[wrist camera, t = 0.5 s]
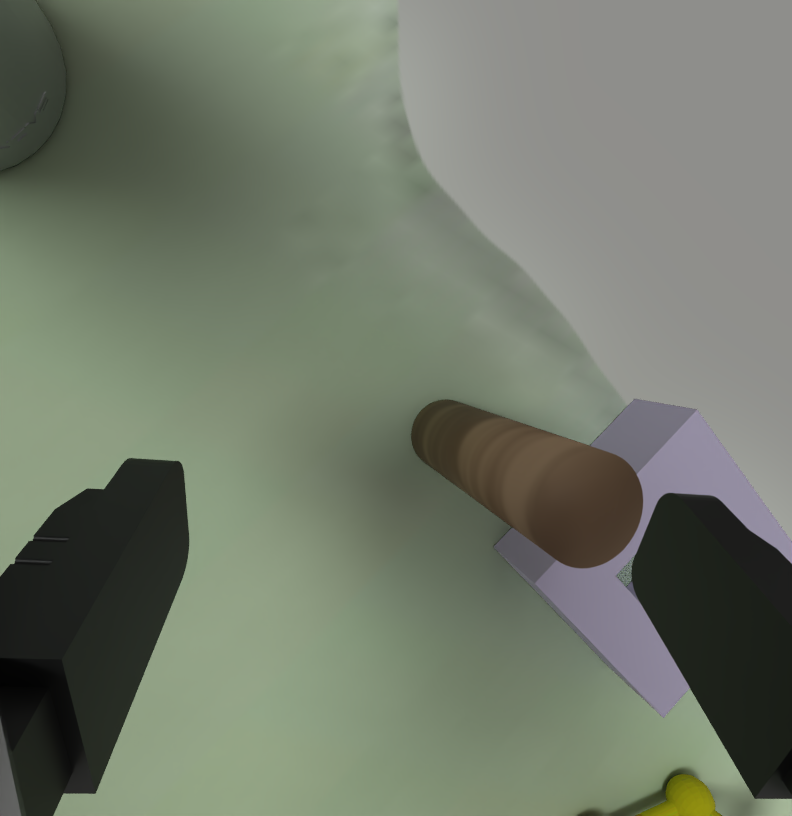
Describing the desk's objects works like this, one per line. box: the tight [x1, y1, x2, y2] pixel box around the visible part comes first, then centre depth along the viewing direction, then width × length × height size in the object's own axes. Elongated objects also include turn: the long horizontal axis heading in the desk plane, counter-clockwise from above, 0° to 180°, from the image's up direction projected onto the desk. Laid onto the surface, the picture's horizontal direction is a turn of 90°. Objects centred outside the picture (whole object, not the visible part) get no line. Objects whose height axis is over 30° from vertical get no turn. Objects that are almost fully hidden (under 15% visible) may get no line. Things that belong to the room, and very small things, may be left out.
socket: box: [494, 399, 792, 718], centre depth 33 cm, size 13×13×5 cm
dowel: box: [411, 400, 643, 568], centre depth 24 cm, size 4×4×14 cm
